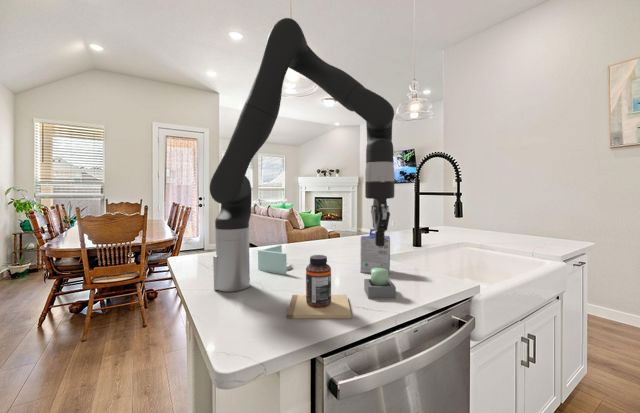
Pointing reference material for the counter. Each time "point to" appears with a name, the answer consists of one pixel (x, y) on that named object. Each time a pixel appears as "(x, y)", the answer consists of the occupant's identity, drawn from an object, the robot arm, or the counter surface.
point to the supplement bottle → (318, 282)
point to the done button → (379, 276)
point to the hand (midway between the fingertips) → (379, 245)
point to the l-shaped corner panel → (273, 260)
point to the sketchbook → (319, 308)
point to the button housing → (379, 290)
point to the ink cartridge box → (374, 253)
